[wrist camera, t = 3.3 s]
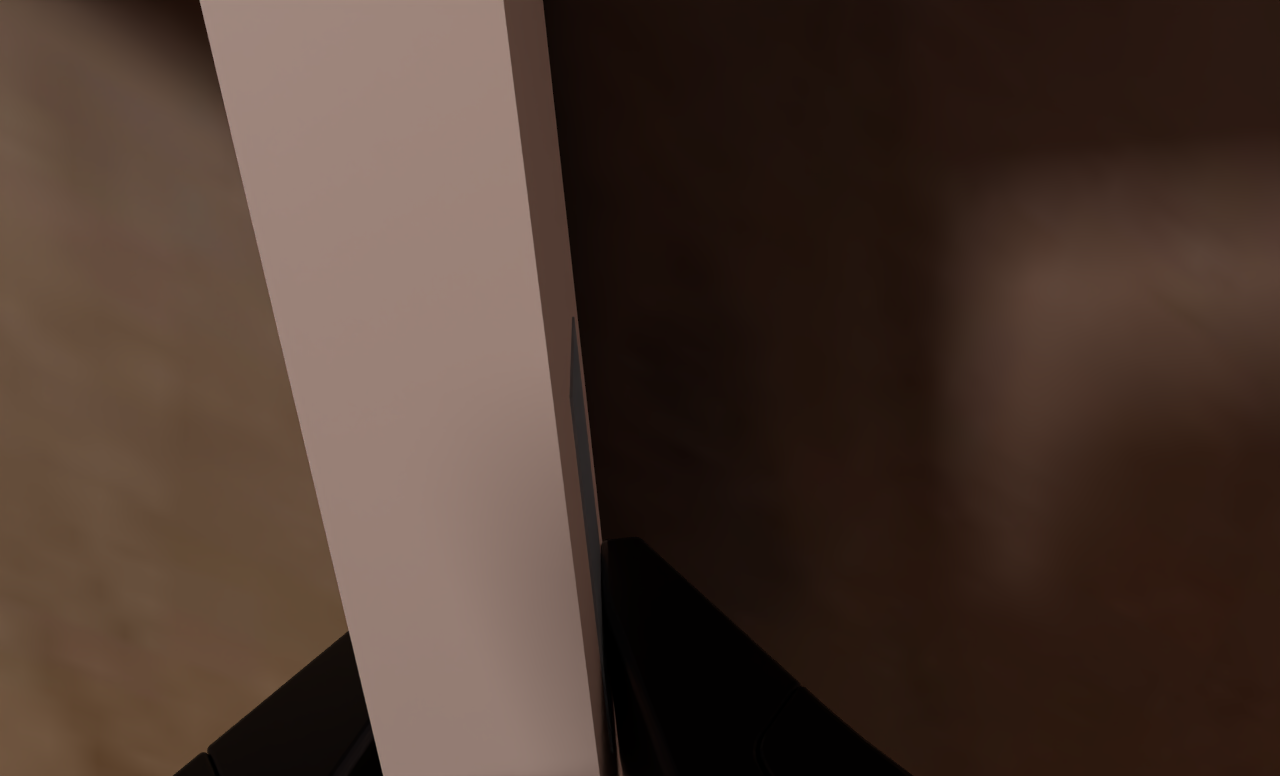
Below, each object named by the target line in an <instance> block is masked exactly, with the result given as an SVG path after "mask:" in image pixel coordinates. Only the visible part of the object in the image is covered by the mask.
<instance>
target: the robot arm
mask: <svg viewBox="0 0 1280 776" xmlns="http://www.w3.org/2000/svg"><path fill="white" fill-rule="evenodd" d="M601 591H602V603H603V612H604V621H605V630H606V639H607V648H608V657H609V666H610V675H611V684H612V693H613V702H614V711H615V719H616V728H617V737H618V746H619V755H620V762H621V767H622V773H623V776H913V775H912V774H910V773H909V772H908V771H906V770H905V769H904V768H902V767H901V766H900V765H898V764H897V763H896V762H894V761H893V760H892V759H890V758H889V757H888V756H886V755H885V754H884V753H882V752H881V751H880V750H878V749H877V748H876V747H874V746H873V745H872V744H870V743H869V742H868V741H866V740H865V739H864V738H863V737H861V736H860V735H859V734H858V733H857V732H856V731H854V730H853V729H852V728H851V727H850V726H849V725H847V724H846V723H845V722H844V721H843V720H841V719H840V718H839V717H838V716H837V715H836V714H834V713H833V712H832V711H831V710H830V709H828V708H827V707H826V706H825V705H824V704H823V703H822V702H821V701H820V700H818V699H817V698H816V697H815V696H814V695H813V694H812V693H811V692H810V691H809V690H807V689H806V688H805V687H802V686H801V685H800V683H799V682H798V681H797V680H796V679H795V678H794V677H793V676H792V675H790V674H789V673H788V672H787V671H786V670H785V669H784V668H783V667H782V666H781V665H779V664H778V663H777V662H776V661H775V660H774V659H773V658H772V657H771V656H770V655H768V654H767V653H766V652H765V651H764V650H763V649H762V648H761V647H760V646H759V645H757V644H756V643H755V642H754V641H753V640H752V639H751V638H750V637H749V636H748V635H746V634H745V633H744V632H743V631H742V630H741V629H740V628H739V627H738V626H737V625H736V624H734V623H733V622H732V621H731V620H730V619H729V618H728V617H727V616H726V615H725V614H723V613H722V612H721V611H720V610H719V609H718V608H717V607H716V606H715V605H714V604H712V603H711V602H710V601H709V600H708V599H707V598H706V597H705V596H704V595H703V594H701V593H700V592H699V591H698V590H697V589H696V588H695V587H694V586H693V585H692V584H690V583H689V582H688V581H687V580H686V579H685V578H684V577H683V576H682V575H681V574H679V573H678V572H677V571H676V570H675V569H674V568H673V567H672V566H671V565H670V564H668V563H667V562H666V561H665V560H664V559H663V558H662V557H661V556H660V555H659V554H657V553H656V552H655V551H654V550H653V549H652V548H651V547H650V546H649V545H648V544H646V543H645V542H644V541H643V540H642V539H641V538H638V537H629V538H620V539H610V540H605V541H604V542H603V543H602V544H601ZM207 753H208V754H207ZM207 753H205V752H202V753H200V754H199V755H197V756H196V757H195V758H194V759H193V760H191V761H190V762H189V763H188V764H187V765H185V766H184V767H183V768H182V769H180V770H179V771H178V772H177V773H176V774H174V775H173V776H383V773H382V769H381V765H380V760H379V756H378V752H377V748H376V743H375V739H374V735H373V731H372V726H371V722H370V718H369V714H368V710H367V705H366V701H365V697H364V693H363V688H362V684H361V680H360V676H359V672H358V667H357V663H356V659H355V655H354V650H353V646H352V642H351V638H350V634H349V631H348V632H347V633H345V634H344V635H343V636H342V637H340V638H339V639H338V640H337V641H336V642H334V643H333V644H332V645H331V646H330V647H328V648H327V649H326V650H325V651H324V652H322V653H321V654H320V655H319V656H317V657H316V658H315V659H314V660H313V661H311V662H310V663H309V664H308V665H307V666H305V667H304V668H303V669H302V670H301V671H299V672H298V673H297V674H296V675H295V676H293V677H292V678H291V679H290V680H288V681H287V682H286V683H285V684H284V685H282V686H281V687H280V688H279V689H278V690H276V691H275V692H274V693H273V694H272V695H270V696H269V697H268V698H267V699H265V700H264V701H263V702H262V703H261V704H259V705H258V706H257V707H256V708H255V709H253V710H252V711H251V712H250V713H249V714H247V715H246V716H245V717H244V718H242V719H241V720H240V721H239V722H238V723H236V724H235V725H234V726H233V727H232V728H230V729H229V730H228V731H227V732H225V733H224V734H223V735H222V736H221V737H219V738H218V739H217V740H216V741H215V742H213V743H212V744H211V745H210V746H209V747H208V749H207Z"/></svg>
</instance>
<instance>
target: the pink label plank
mask: <svg viewBox="0 0 1280 776" xmlns="http://www.w3.org/2000/svg"><path fill="white" fill-rule="evenodd" d="M200 4H201V8H202V13H203V17H204V21H205V25H206V29H207V34H208V38H209V42H210V46H211V51H212V55H213V59H214V63H215V68H216V72H217V76H218V80H219V84H220V89H221V93H222V97H223V101H224V106H225V110H226V114H227V118H228V122H229V127H230V131H231V135H232V139H233V144H234V148H235V152H236V156H237V160H238V165H239V169H240V173H241V177H242V182H243V186H244V190H245V194H246V198H247V203H248V207H249V211H250V215H251V220H252V224H253V228H254V232H255V236H256V241H257V245H258V249H259V253H260V258H261V262H262V266H263V270H264V274H265V279H266V283H267V287H268V291H269V296H270V300H271V304H272V308H273V313H274V317H275V321H276V325H277V329H278V334H279V338H280V342H281V346H282V351H283V355H284V359H285V363H286V367H287V372H288V376H289V380H290V384H291V389H292V393H293V397H294V401H295V405H296V410H297V414H298V418H299V422H300V427H301V431H302V435H303V439H304V443H305V448H306V452H307V456H308V460H309V465H310V469H311V473H312V477H313V481H314V486H315V490H316V494H317V498H318V503H319V507H320V511H321V515H322V520H323V524H324V528H325V532H326V536H327V541H328V545H329V549H330V553H331V558H332V562H333V566H334V570H335V574H336V579H337V583H338V587H339V591H340V596H341V600H342V604H343V608H344V612H345V617H346V621H347V625H348V629H349V634H350V638H351V642H352V646H353V650H354V655H355V659H356V663H357V667H358V672H359V676H360V680H361V684H362V688H363V693H364V697H365V701H366V705H367V710H368V714H369V718H370V722H371V726H372V731H373V735H374V739H375V743H376V748H377V752H378V756H379V760H380V765H381V769H382V773H383V776H623V773H622V767H621V762H620V755H619V746H618V737H617V728H616V719H615V711H614V702H613V693H612V684H611V675H610V666H609V657H608V648H607V639H606V630H605V621H604V612H603V603H602V591H601V544H602V535H601V526H600V517H599V508H598V498H597V489H596V480H595V471H594V462H593V453H592V444H591V435H590V426H589V416H588V407H587V398H586V389H585V380H584V371H583V362H582V353H581V344H580V334H579V325H578V316H577V307H576V298H575V289H574V280H573V271H572V262H571V252H570V243H569V234H568V225H567V216H566V207H565V198H564V189H563V180H562V170H561V161H560V152H559V143H558V134H557V125H556V116H555V107H554V98H553V88H552V79H551V70H550V61H549V52H548V43H547V34H546V25H545V16H544V6H543V0H200Z"/></svg>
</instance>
